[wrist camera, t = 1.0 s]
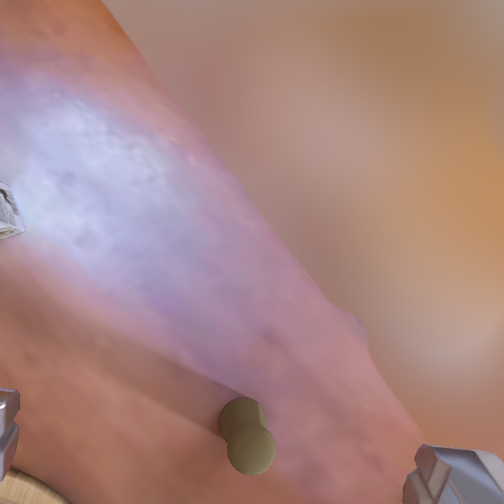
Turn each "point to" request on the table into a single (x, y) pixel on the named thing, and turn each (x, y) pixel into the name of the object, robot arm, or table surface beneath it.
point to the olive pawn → (247, 436)
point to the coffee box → (9, 214)
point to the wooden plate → (27, 490)
